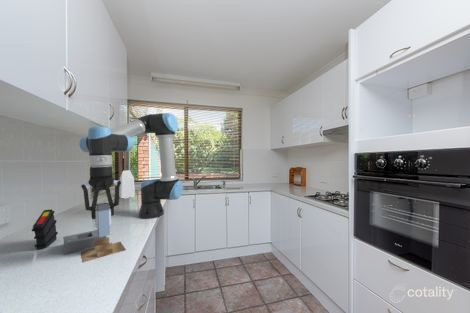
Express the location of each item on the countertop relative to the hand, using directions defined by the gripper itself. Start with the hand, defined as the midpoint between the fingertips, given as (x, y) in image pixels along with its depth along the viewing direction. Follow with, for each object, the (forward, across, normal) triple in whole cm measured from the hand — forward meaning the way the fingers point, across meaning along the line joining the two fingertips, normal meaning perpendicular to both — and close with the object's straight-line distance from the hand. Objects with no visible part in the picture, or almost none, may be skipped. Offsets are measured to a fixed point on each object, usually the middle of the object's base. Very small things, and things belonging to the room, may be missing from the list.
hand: (103, 225), depth 81 cm
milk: (+13, +36, +126) cm, 131 cm away
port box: (+11, -5, +12) cm, 17 cm away
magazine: (+11, -18, +27) cm, 34 cm away
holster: (+11, 0, 0) cm, 11 cm away
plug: (+4, 0, 0) cm, 4 cm away
